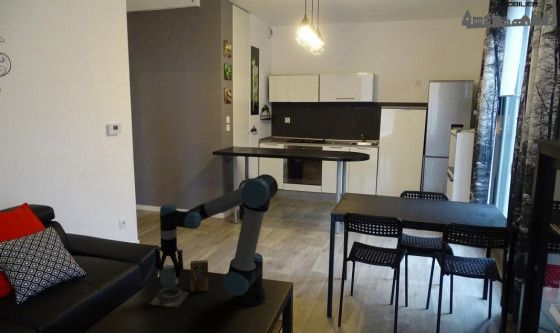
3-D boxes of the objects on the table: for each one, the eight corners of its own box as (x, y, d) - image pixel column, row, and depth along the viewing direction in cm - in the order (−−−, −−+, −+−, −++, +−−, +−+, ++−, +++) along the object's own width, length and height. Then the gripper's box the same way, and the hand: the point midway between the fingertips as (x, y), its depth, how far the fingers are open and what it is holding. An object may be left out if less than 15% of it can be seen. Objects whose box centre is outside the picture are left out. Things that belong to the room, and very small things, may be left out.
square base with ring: (189, 294, 190) (189, 287, 189) (176, 308, 176) (176, 301, 176) (164, 290, 193) (163, 284, 192) (149, 304, 179) (149, 297, 178)
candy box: (208, 287, 197) (207, 259, 195) (208, 291, 193) (208, 262, 191) (190, 288, 196) (190, 260, 193) (190, 292, 191) (190, 263, 189)
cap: (178, 283, 186) (178, 264, 184) (172, 289, 180) (172, 269, 178) (166, 281, 187) (166, 263, 186) (160, 287, 181) (159, 268, 179)
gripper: (190, 236, 181) (191, 281, 185) (154, 232, 185) (155, 277, 189) (183, 241, 174) (184, 288, 178) (145, 237, 178) (147, 283, 181)
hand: (169, 282), depth 183 cm, fingers closed on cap, 6 cm apart
